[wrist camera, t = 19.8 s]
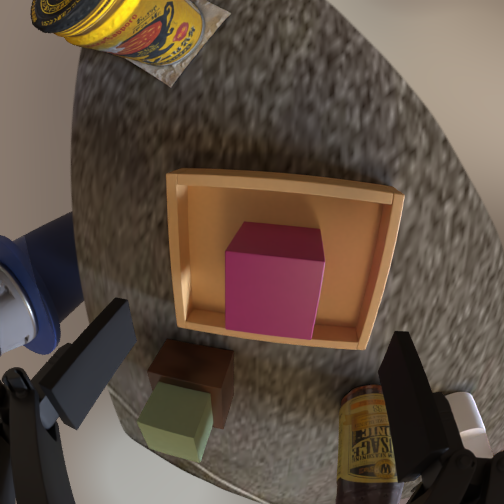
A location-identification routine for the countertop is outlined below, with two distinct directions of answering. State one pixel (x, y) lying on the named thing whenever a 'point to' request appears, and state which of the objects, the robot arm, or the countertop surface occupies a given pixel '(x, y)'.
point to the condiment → (134, 29)
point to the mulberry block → (273, 280)
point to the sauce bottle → (366, 450)
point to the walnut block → (197, 373)
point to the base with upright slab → (470, 424)
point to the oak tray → (292, 214)
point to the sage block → (177, 421)
